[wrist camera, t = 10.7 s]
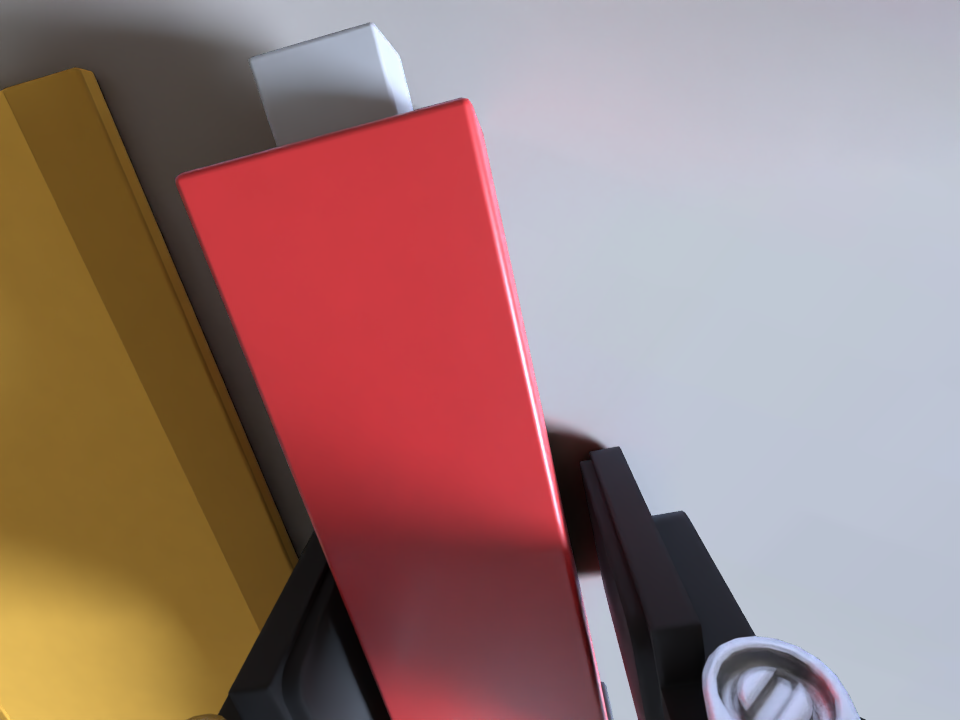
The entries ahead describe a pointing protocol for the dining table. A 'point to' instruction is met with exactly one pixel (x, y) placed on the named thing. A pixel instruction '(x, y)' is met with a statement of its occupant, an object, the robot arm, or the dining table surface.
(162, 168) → the dining table surface
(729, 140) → the dining table surface
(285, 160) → the marker
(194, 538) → the mustard cloth
